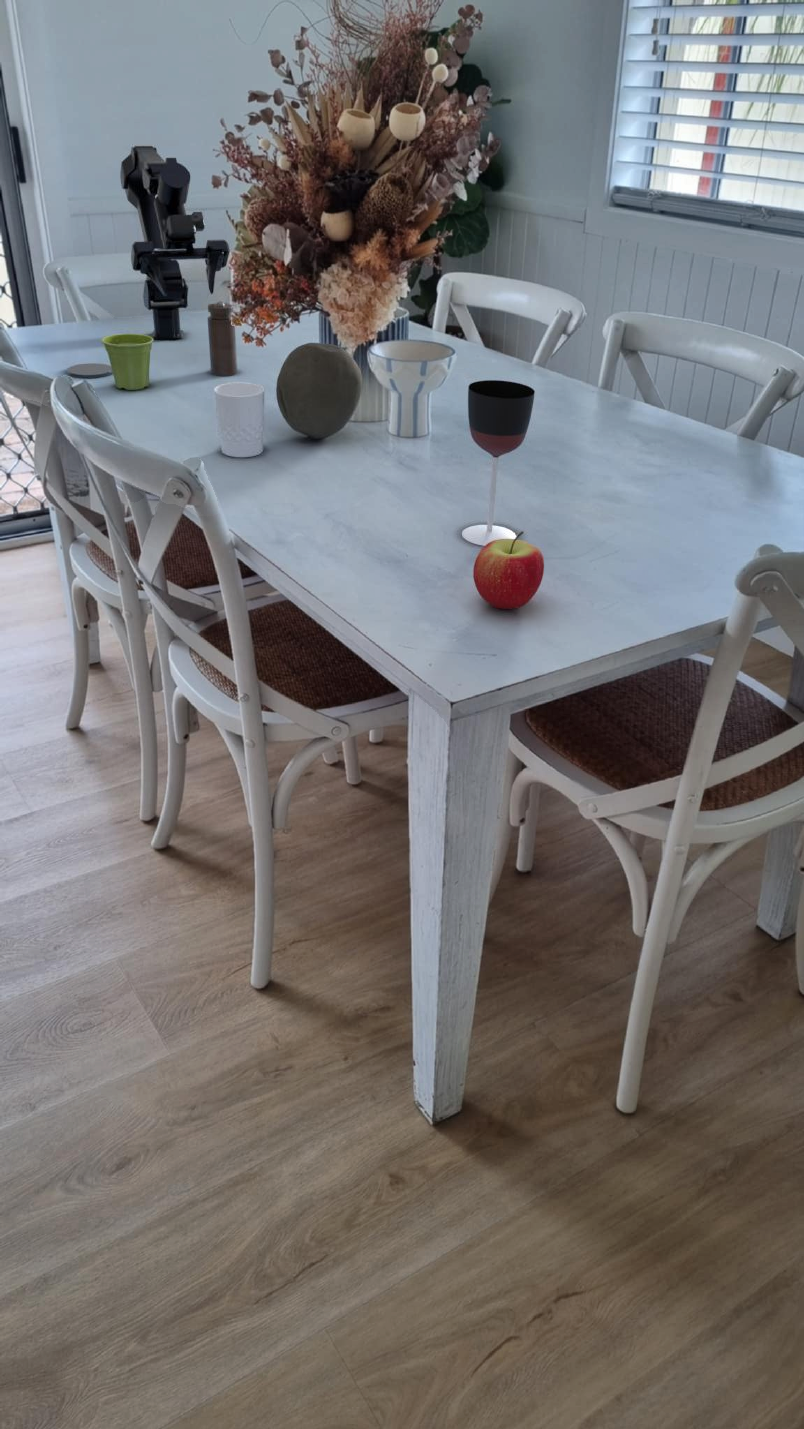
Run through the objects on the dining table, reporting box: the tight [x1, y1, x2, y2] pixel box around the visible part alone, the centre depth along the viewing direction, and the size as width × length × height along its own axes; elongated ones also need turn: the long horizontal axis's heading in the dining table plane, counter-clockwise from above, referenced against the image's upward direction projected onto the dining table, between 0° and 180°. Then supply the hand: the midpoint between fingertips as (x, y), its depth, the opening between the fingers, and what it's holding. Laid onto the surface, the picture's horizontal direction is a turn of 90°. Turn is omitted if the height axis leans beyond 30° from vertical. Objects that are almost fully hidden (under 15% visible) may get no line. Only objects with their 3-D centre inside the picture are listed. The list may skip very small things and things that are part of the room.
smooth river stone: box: [275, 342, 363, 440], centre depth 176 cm, size 14×14×15 cm
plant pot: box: [101, 333, 155, 391], centre depth 199 cm, size 9×9×9 cm
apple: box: [472, 530, 545, 610], centre depth 126 cm, size 8×8×10 cm
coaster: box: [66, 362, 113, 379], centre depth 209 cm, size 9×9×1 cm
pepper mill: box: [207, 301, 238, 377], centre depth 208 cm, size 5×5×14 cm
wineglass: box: [461, 379, 536, 547], centre depth 141 cm, size 8×9×20 cm
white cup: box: [213, 381, 265, 458], centre depth 170 cm, size 8×8×10 cm
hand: (189, 293), depth 208 cm, fingers open, 9 cm apart
